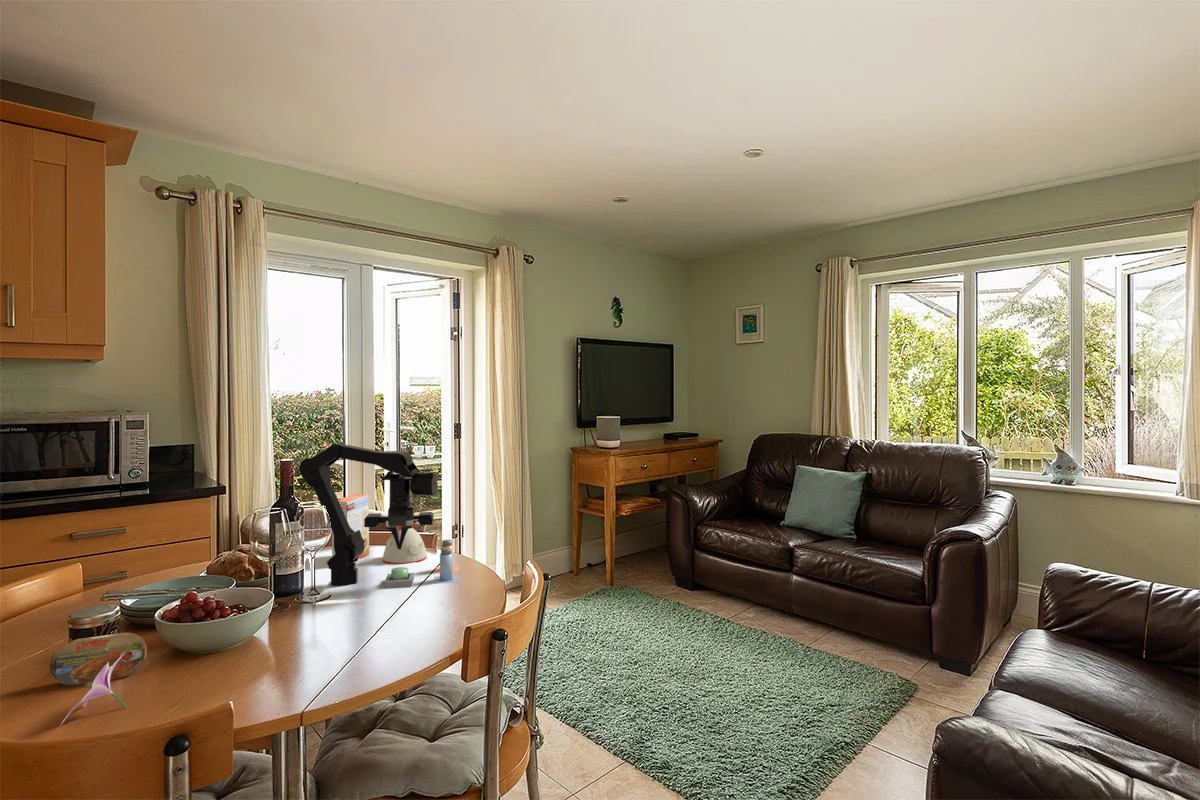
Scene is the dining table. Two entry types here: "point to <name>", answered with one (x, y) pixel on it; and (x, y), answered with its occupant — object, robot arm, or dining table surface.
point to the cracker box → (356, 517)
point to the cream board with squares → (409, 581)
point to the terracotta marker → (448, 545)
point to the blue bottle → (445, 564)
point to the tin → (97, 658)
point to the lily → (99, 687)
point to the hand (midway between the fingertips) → (399, 548)
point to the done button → (399, 573)
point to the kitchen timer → (405, 549)
